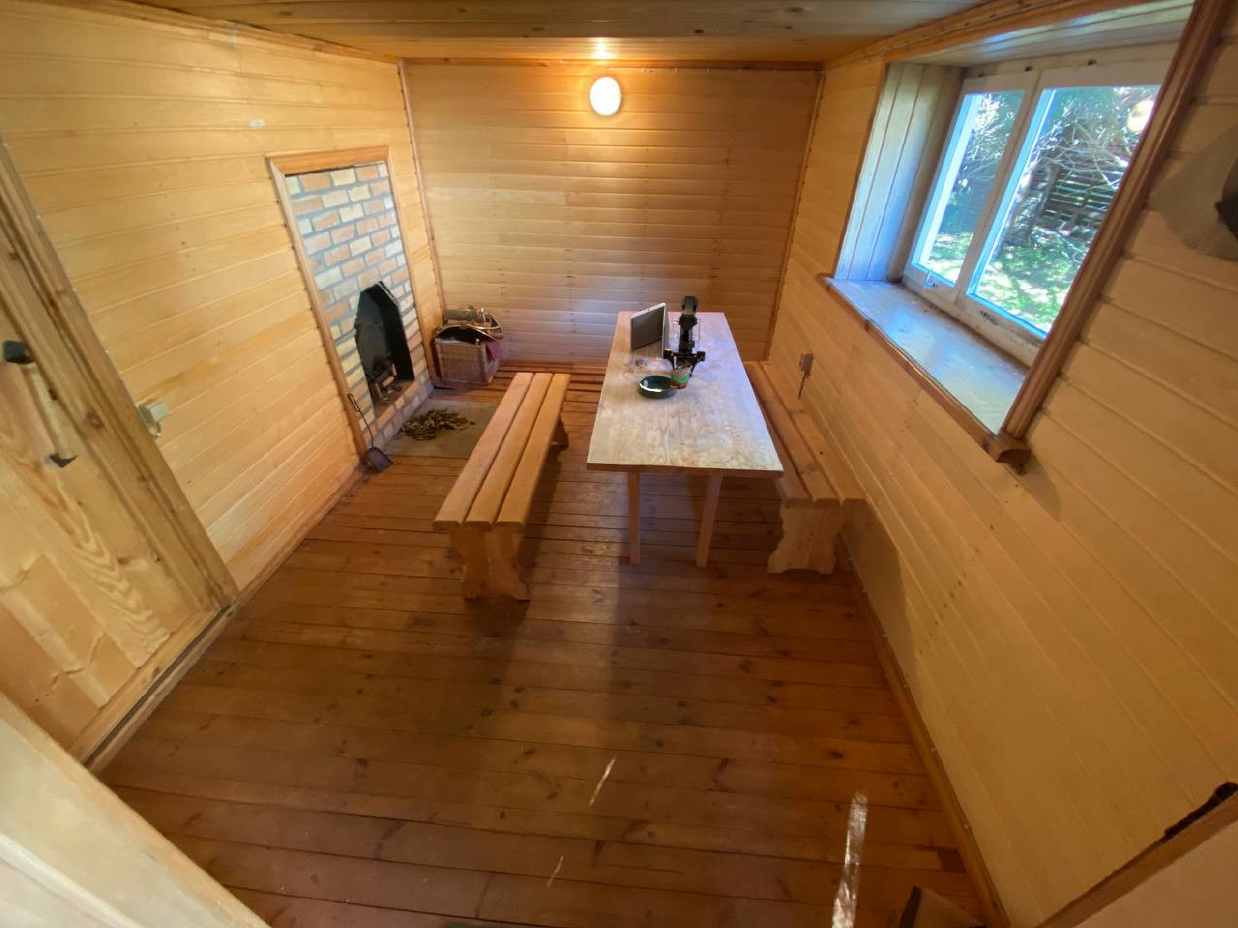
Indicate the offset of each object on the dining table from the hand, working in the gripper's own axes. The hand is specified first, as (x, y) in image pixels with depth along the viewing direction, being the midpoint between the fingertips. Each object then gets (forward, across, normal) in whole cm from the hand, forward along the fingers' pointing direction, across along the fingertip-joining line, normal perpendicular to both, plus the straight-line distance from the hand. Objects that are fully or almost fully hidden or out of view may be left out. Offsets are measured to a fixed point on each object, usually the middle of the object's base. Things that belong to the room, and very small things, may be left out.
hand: (682, 373), depth 226 cm
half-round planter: (+4, 0, +6) cm, 7 cm away
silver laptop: (-35, -21, +55) cm, 68 cm away
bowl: (+4, -12, +16) cm, 20 cm away
